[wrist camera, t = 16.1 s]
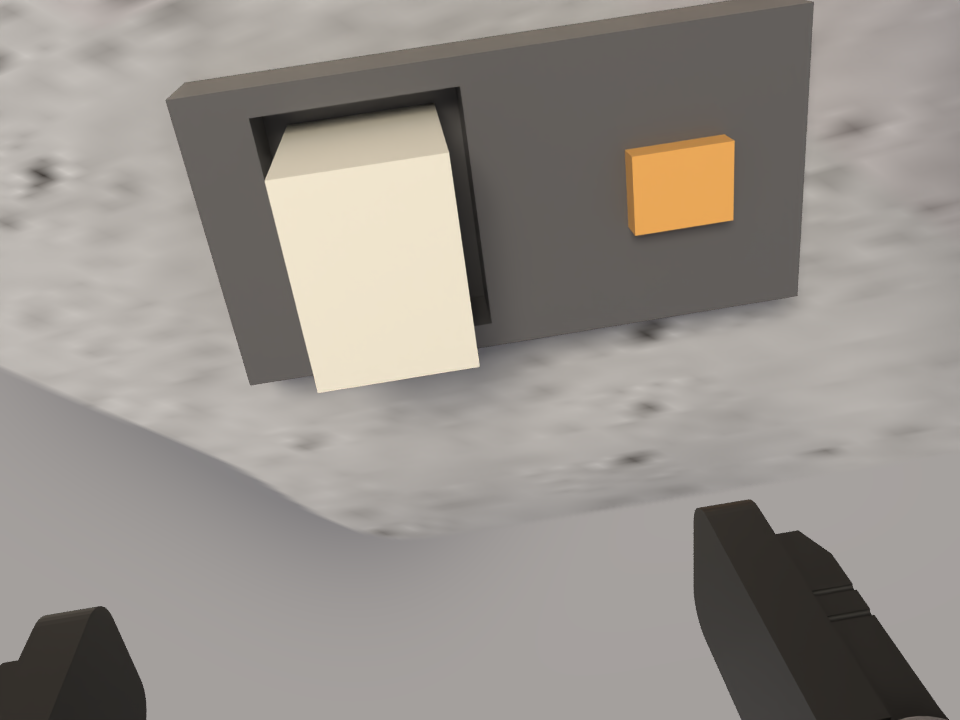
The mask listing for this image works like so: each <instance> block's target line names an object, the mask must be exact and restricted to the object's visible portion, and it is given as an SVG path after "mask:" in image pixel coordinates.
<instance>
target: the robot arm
mask: <svg viewBox="0 0 960 720" xmlns="http://www.w3.org/2000/svg"><path fill="white" fill-rule="evenodd" d="M694 598H695V605H696V610H697V615H698V619H699V623H700V626H701V629H702V632H703V635H704V637H705V639H706V642H707V644H708V646H709V648H710V651H711V653H712V655H713V657H714V660H715V662H716V664H717V666H718V668H719V671H720V673H721V675H722V677H723V680H724V682H725V684H726V686H727V689H728V691H729V693H730V695H731V697H732V700H733V702H734V704H735V706H736V709H737V711H738V713H739V715H740V718H741V720H949V719H948V718H947V717H946V716H945V714H944V713H943V712H942V711H941V710H940V708H939V707H938V705H937V704H936V702H935V701H934V700H933V698H932V697H931V695H930V694H929V692H928V691H927V690H926V688H925V687H924V685H923V684H922V683H921V681H920V680H919V678H918V677H917V675H916V674H915V673H914V671H913V670H912V668H911V667H910V665H909V664H908V663H907V661H906V660H905V658H904V657H903V655H902V654H901V653H900V651H899V650H898V648H897V647H896V645H895V644H894V643H893V641H892V640H891V638H890V637H889V635H888V634H887V633H886V631H885V630H884V628H883V627H882V625H881V624H880V622H879V621H878V620H877V618H876V617H875V615H871V613H870V608H869V607H868V606H867V604H866V603H865V601H864V600H863V598H862V597H861V595H860V594H859V592H858V591H857V590H854V589H853V586H852V583H851V581H850V580H849V578H848V577H847V575H846V574H845V572H844V571H843V570H842V568H841V567H840V566H839V564H838V562H837V561H836V560H835V558H834V557H833V555H832V554H831V553H830V552H828V551H827V550H825V549H824V548H822V547H821V546H820V545H818V544H817V543H815V542H814V541H812V540H811V539H810V538H808V537H806V536H805V535H804V534H802V533H801V532H800V531H792V532H786V533H780V534H775V533H774V531H773V530H772V528H771V527H770V525H769V523H768V522H767V520H766V519H765V517H764V515H763V514H762V512H761V511H760V509H759V508H758V506H757V505H756V504H755V503H754V502H753V501H752V500H743V501H736V502H731V503H725V504H719V505H713V506H707V507H701V508H697V509H696V510H695V514H694ZM0 720H146V698H145V692H144V688H143V684H142V682H141V679H140V677H139V675H138V673H137V670H136V668H135V666H134V664H133V662H132V659H131V657H130V655H129V653H128V650H127V648H126V646H125V644H124V642H123V639H122V637H121V635H120V633H119V631H118V628H117V626H116V624H115V622H114V619H113V618H112V616H111V614H110V612H109V611H108V610H107V609H106V608H105V607H102V606H98V607H92V608H87V609H80V610H75V611H69V612H63V613H57V614H51V615H45V616H43V617H41V618H40V619H39V620H38V621H37V623H36V624H35V626H34V628H33V630H32V632H31V634H30V637H29V639H28V641H27V643H26V645H25V647H24V649H23V651H22V653H21V656H20V658H19V660H18V661H12V662H6V663H2V664H1V665H0Z"/></svg>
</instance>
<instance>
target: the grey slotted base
mask: <svg viewBox="0 0 960 720" xmlns="http://www.w3.org/2000/svg"><path fill="white" fill-rule="evenodd" d="M813 7H814V2H811V1H807V0H730V1H724V2H717V3H710V4H704V5H697V6H691V7H684V8H677V9H671V10H664V11H657V12H651V13H644V14H637V15H631V16H624V17H618V18H611V19H604V20H598V21H591V22H584V23H578V24H571V25H565V26H558V27H551V28H545V29H538V30H531V31H525V32H518V33H512V34H505V35H498V36H492V37H485V38H478V39H472V40H465V41H459V42H452V43H445V44H439V45H432V46H425V47H419V48H412V49H406V50H399V51H392V52H386V53H379V54H372V55H366V56H359V57H353V58H346V59H339V60H333V61H326V62H319V63H313V64H306V65H299V66H293V67H286V68H280V69H273V70H266V71H260V72H253V73H246V74H240V75H233V76H227V77H220V78H213V79H207V80H200V81H193V82H187V83H184V84H183V85H182V86H181V87H179V88H178V89H177V90H176V91H175V92H174V93H173V94H172V95H171V96H170V97H169V98H167V99H166V103H167V107H168V110H169V113H170V117H171V120H172V123H173V127H174V130H175V134H176V137H177V140H178V144H179V147H180V150H181V154H182V157H183V161H184V164H185V167H186V171H187V174H188V177H189V181H190V184H191V188H192V191H193V194H194V198H195V201H196V204H197V208H198V211H199V214H200V218H201V221H202V225H203V228H204V231H205V235H206V238H207V241H208V245H209V248H210V252H211V255H212V258H213V262H214V265H215V268H216V272H217V275H218V278H219V282H220V285H221V289H222V292H223V295H224V299H225V302H226V305H227V309H228V312H229V316H230V319H231V322H232V326H233V329H234V332H235V336H236V339H237V342H238V346H239V349H240V353H241V356H242V359H243V363H244V366H245V369H246V373H247V376H248V380H249V383H250V385H256V384H262V383H268V382H274V381H281V380H287V379H293V378H299V377H305V376H311V375H313V371H312V367H311V363H310V359H309V355H308V352H307V348H306V344H305V340H304V336H303V332H302V328H301V324H300V320H299V316H298V312H297V308H296V304H295V300H294V296H293V292H292V288H291V284H290V280H289V276H288V272H287V268H286V264H285V260H284V256H283V252H282V248H281V244H280V240H279V236H278V232H277V228H276V224H275V220H274V216H273V212H272V208H271V205H270V201H269V197H268V193H267V189H266V185H265V179H266V176H267V174H268V171H269V169H270V166H271V164H272V161H273V159H274V156H275V154H276V151H277V149H278V147H279V144H280V142H281V139H282V137H283V134H284V132H285V129H286V127H287V125H291V124H298V123H305V122H311V121H318V120H325V119H331V118H338V117H344V116H351V115H358V114H364V113H371V112H377V111H384V110H391V109H397V108H404V107H410V106H417V105H424V104H430V103H434V104H435V107H436V111H437V114H438V117H439V121H440V124H441V127H442V131H443V134H444V137H445V141H446V144H447V147H448V151H449V156H450V163H451V170H452V177H453V184H454V191H455V198H456V205H457V212H458V219H459V226H460V233H461V240H462V247H463V253H464V260H465V267H466V274H467V281H468V288H469V295H470V302H471V309H472V316H473V323H474V330H475V337H476V344H477V348H482V347H488V346H494V345H501V344H507V343H513V342H519V341H525V340H531V339H537V338H543V337H549V336H556V335H562V334H568V333H574V332H580V331H586V330H592V329H598V328H604V327H610V326H617V325H623V324H629V323H635V322H641V321H647V320H653V319H659V318H665V317H672V316H678V315H684V314H690V313H696V312H702V311H708V310H714V309H720V308H727V307H733V306H739V305H745V304H751V303H757V302H763V301H769V300H775V299H782V298H788V297H794V296H797V292H798V274H799V257H800V239H801V221H802V203H803V185H804V167H805V150H806V132H807V114H808V96H809V78H810V60H811V42H812V25H813Z"/></svg>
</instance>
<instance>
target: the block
mask: <svg viewBox="0 0 960 720" xmlns="http://www.w3.org/2000/svg"><path fill="white" fill-rule="evenodd" d="M265 185H266V189H267V193H268V197H269V201H270V205H271V208H272V212H273V216H274V220H275V224H276V228H277V232H278V236H279V240H280V244H281V248H282V252H283V256H284V260H285V264H286V268H287V272H288V276H289V280H290V284H291V288H292V292H293V296H294V300H295V304H296V308H297V312H298V316H299V320H300V324H301V328H302V332H303V336H304V340H305V344H306V348H307V352H308V355H309V359H310V363H311V367H312V371H313V375H314V379H315V383H316V387H317V391H318V393H322V392H328V391H334V390H340V389H346V388H352V387H358V386H365V385H371V384H377V383H383V382H389V381H395V380H401V379H408V378H414V377H420V376H426V375H432V374H438V373H444V372H451V371H457V370H463V369H469V368H475V367H480V365H479V358H478V351H477V344H476V337H475V330H474V323H473V316H472V309H471V302H470V295H469V288H468V281H467V274H466V267H465V260H464V253H463V247H462V240H461V233H460V226H459V219H458V212H457V205H456V198H455V191H454V184H453V177H452V170H451V163H450V156H449V151H448V147H447V144H446V141H445V137H444V134H443V131H442V127H441V124H440V121H439V117H438V114H437V111H436V107H435V104H434V103H430V104H424V105H417V106H410V107H404V108H397V109H391V110H384V111H377V112H371V113H364V114H358V115H351V116H344V117H338V118H331V119H325V120H318V121H311V122H305V123H298V124H291V125H287V127H286V129H285V132H284V134H283V137H282V139H281V142H280V144H279V147H278V149H277V151H276V154H275V156H274V159H273V161H272V164H271V166H270V169H269V171H268V174H267V176H266V179H265Z"/></svg>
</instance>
